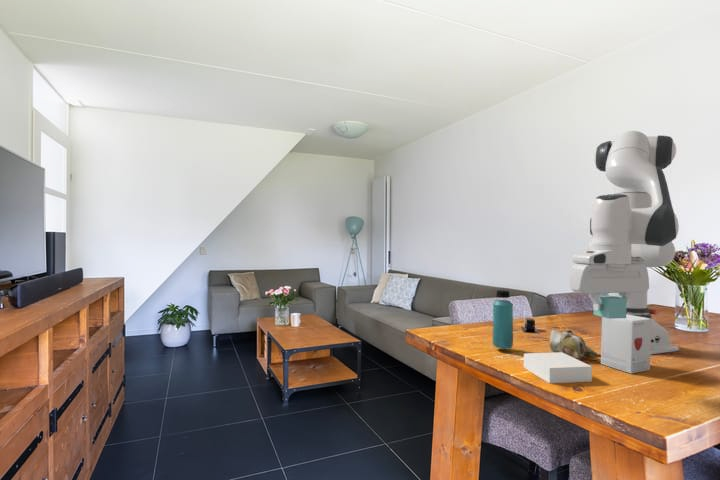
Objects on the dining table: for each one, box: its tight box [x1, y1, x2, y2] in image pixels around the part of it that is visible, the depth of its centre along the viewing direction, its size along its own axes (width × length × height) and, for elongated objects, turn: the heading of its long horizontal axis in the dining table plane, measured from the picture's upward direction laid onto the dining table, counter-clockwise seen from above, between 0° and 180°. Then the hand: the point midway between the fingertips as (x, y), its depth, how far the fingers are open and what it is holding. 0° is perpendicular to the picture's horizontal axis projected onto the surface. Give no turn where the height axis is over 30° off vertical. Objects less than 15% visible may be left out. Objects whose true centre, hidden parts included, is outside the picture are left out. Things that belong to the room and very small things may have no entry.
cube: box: [593, 294, 627, 319], centre depth 97 cm, size 5×5×5 cm
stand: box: [523, 352, 593, 384], centre depth 104 cm, size 12×12×4 cm
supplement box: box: [600, 314, 651, 375], centre depth 110 cm, size 9×9×15 cm
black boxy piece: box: [520, 317, 541, 335], centre depth 154 cm, size 13×8×5 cm, turn 164°
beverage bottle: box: [492, 289, 514, 350], centre depth 125 cm, size 6×7×20 cm
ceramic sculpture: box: [548, 328, 601, 361], centre depth 120 cm, size 11×9×15 cm
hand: (609, 309), depth 97 cm, fingers closed on cube, 5 cm apart
